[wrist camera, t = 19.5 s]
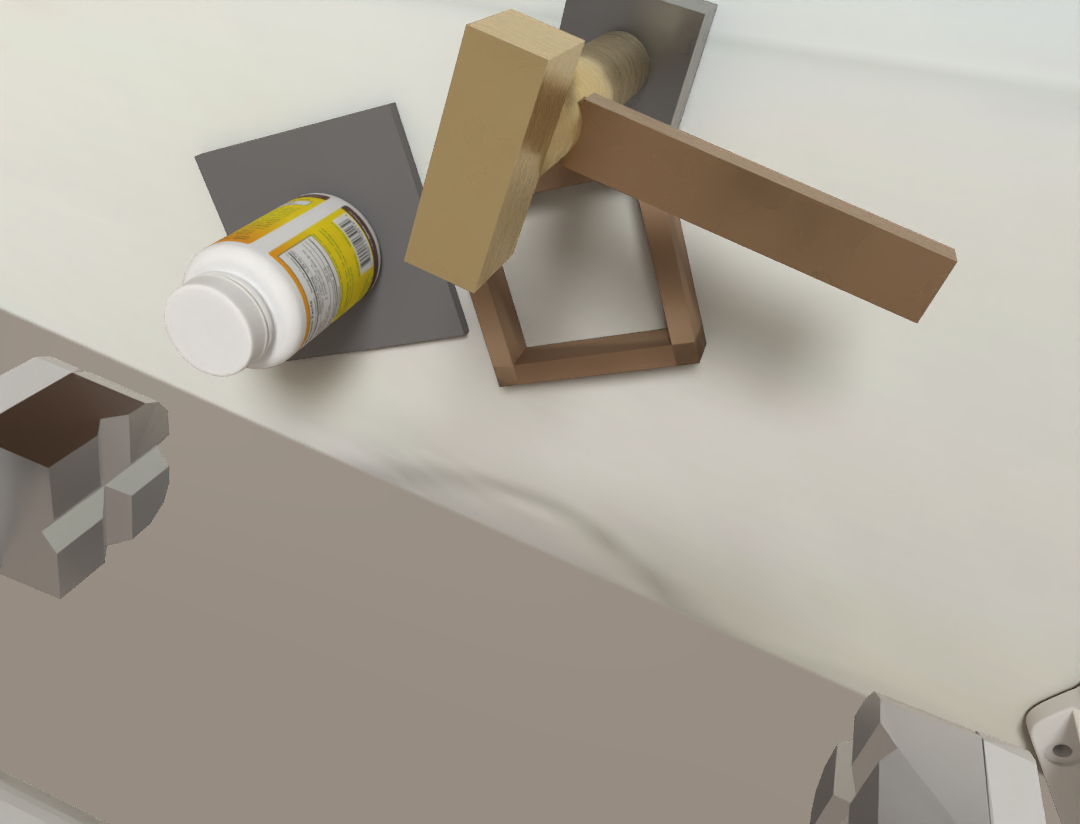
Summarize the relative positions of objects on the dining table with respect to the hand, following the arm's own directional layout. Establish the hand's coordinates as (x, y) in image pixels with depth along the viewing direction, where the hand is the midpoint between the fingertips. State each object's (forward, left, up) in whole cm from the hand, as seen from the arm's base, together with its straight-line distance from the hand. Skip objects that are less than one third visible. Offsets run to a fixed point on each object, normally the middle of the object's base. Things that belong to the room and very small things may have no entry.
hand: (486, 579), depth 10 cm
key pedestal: (+2, +5, -31) cm, 31 cm away
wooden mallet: (-1, 0, -28) cm, 28 cm away
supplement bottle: (-3, +21, -31) cm, 37 cm away
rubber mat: (-3, +21, -31) cm, 38 cm away
